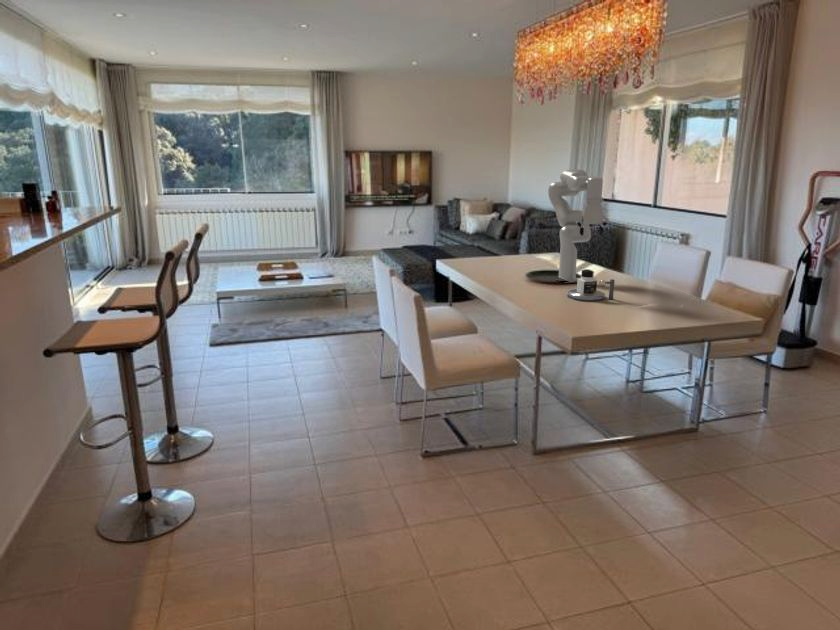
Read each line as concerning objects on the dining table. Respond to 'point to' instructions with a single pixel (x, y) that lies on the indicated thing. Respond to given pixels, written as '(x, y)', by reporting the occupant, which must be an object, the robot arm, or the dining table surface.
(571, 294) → the disc
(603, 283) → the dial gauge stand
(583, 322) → the dining table surface
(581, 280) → the medicine bottle
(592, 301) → the base
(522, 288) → the dining table surface
